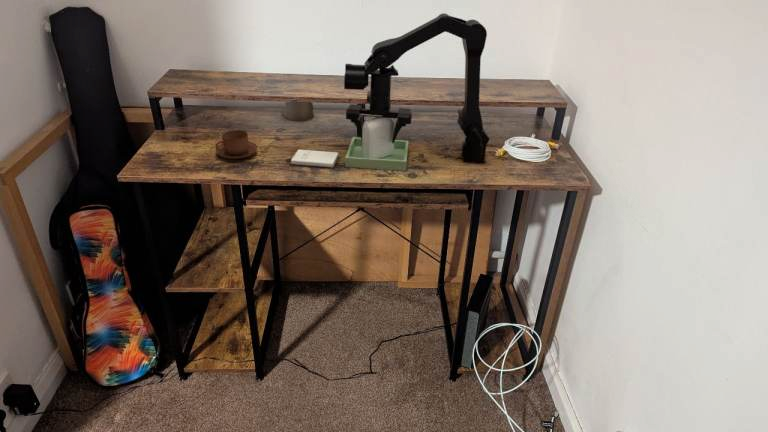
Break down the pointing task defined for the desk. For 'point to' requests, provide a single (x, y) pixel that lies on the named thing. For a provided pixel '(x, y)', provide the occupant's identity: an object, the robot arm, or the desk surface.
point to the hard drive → (315, 158)
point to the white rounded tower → (378, 137)
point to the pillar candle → (299, 111)
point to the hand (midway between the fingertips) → (378, 141)
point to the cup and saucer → (235, 145)
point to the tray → (389, 162)
